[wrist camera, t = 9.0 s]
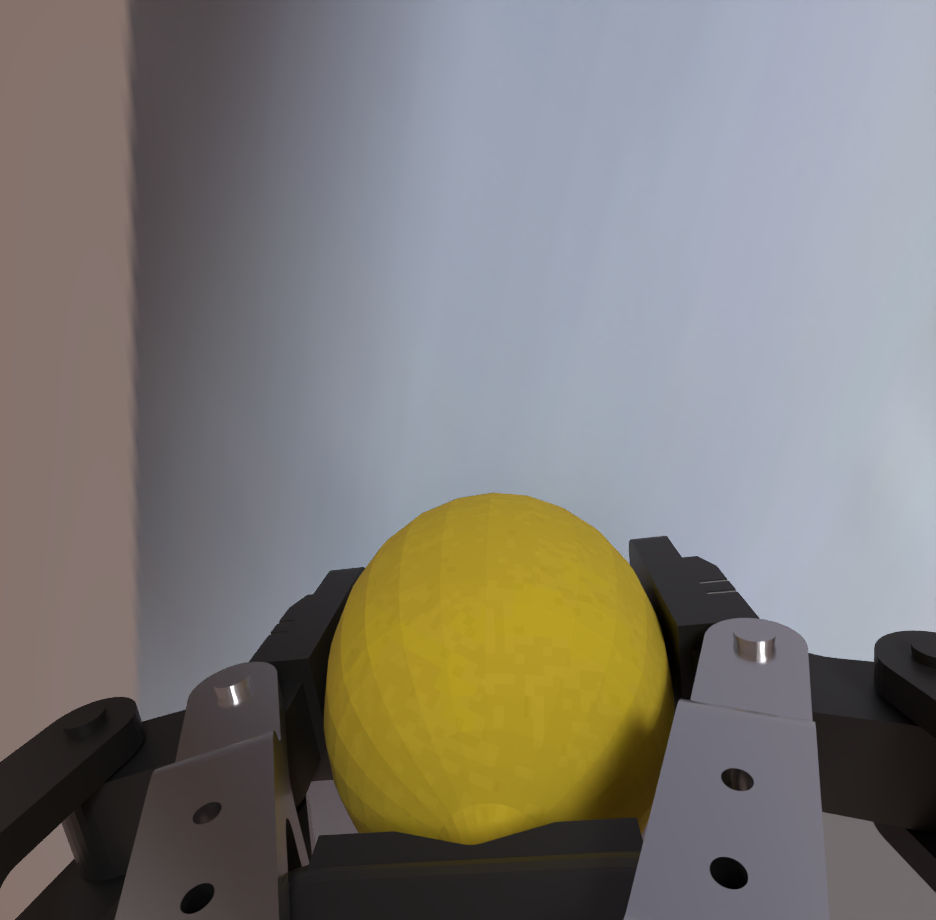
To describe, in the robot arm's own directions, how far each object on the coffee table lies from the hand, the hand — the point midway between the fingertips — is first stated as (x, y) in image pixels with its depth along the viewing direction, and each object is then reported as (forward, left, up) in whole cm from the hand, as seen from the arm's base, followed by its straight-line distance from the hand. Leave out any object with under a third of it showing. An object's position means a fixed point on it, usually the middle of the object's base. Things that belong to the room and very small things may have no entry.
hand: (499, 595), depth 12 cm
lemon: (0, 0, -2) cm, 2 cm away
